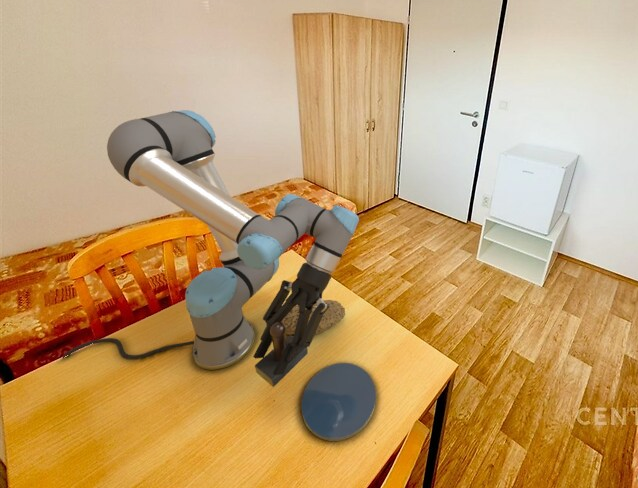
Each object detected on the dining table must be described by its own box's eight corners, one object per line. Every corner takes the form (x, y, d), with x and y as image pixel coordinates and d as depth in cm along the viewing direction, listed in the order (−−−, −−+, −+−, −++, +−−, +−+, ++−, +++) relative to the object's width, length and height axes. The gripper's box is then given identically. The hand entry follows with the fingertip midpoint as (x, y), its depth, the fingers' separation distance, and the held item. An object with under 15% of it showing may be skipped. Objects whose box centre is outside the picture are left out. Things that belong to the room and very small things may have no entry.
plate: (291, 439, 71) (291, 436, 70) (313, 363, 87) (312, 360, 86) (372, 443, 71) (372, 440, 70) (378, 367, 87) (378, 365, 86)
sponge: (272, 343, 93) (338, 341, 90) (266, 320, 91) (333, 317, 88) (291, 314, 105) (349, 312, 103) (286, 294, 104) (345, 290, 101)
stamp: (273, 387, 69) (266, 348, 64) (255, 372, 72) (247, 333, 66) (308, 353, 77) (304, 315, 71) (291, 341, 80) (286, 303, 74)
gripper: (356, 286, 75) (308, 387, 69) (300, 256, 83) (253, 343, 78) (340, 282, 68) (286, 392, 63) (281, 249, 77) (229, 344, 71)
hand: (268, 365), depth 70 cm, fingers closed on stamp, 6 cm apart
